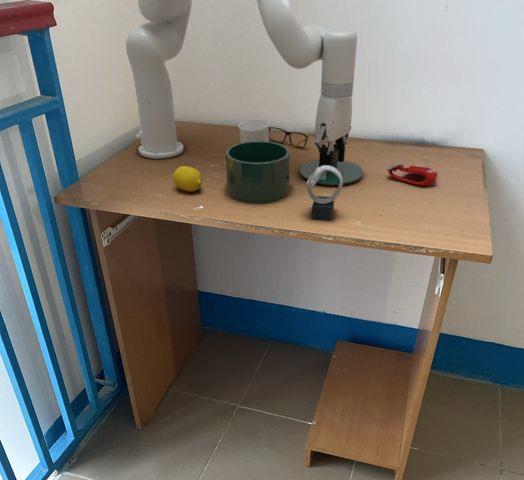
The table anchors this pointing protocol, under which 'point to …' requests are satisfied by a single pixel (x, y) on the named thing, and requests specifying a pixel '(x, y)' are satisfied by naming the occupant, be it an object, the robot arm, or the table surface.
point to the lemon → (187, 178)
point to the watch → (322, 205)
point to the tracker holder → (415, 170)
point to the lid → (346, 169)
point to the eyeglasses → (290, 138)
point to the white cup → (254, 130)
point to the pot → (257, 171)
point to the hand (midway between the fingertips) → (331, 163)
